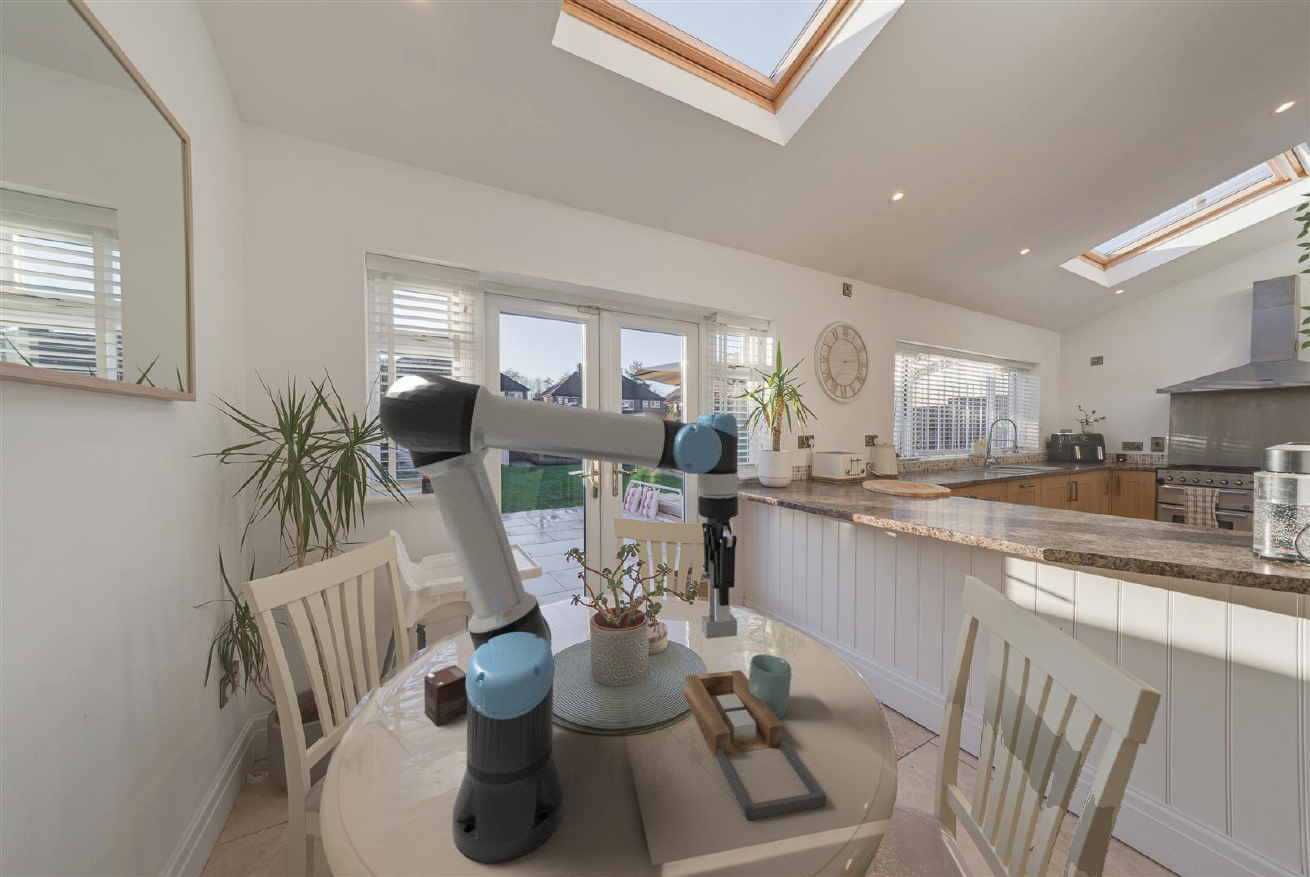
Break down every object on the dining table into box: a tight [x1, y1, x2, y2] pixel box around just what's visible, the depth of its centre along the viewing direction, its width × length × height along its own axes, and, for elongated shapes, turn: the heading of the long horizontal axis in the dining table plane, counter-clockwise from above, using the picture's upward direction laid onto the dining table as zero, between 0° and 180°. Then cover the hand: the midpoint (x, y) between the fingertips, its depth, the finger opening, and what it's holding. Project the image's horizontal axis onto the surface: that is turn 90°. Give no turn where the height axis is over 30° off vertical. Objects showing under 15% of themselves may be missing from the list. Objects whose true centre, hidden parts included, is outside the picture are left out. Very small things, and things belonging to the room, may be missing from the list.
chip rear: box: [716, 694, 744, 724], centre depth 83 cm, size 4×4×3 cm
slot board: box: [683, 669, 784, 757], centre depth 83 cm, size 13×18×5 cm
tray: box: [716, 738, 827, 822], centre depth 68 cm, size 12×12×3 cm
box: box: [423, 664, 467, 726], centre depth 86 cm, size 6×6×7 cm
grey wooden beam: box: [701, 559, 738, 640], centre depth 86 cm, size 6×3×14 cm, turn 101°
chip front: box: [726, 710, 756, 744], centre depth 79 cm, size 4×4×3 cm
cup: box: [748, 654, 792, 719], centre depth 87 cm, size 8×8×10 cm
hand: (719, 616), depth 86 cm, fingers closed on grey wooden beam, 3 cm apart
